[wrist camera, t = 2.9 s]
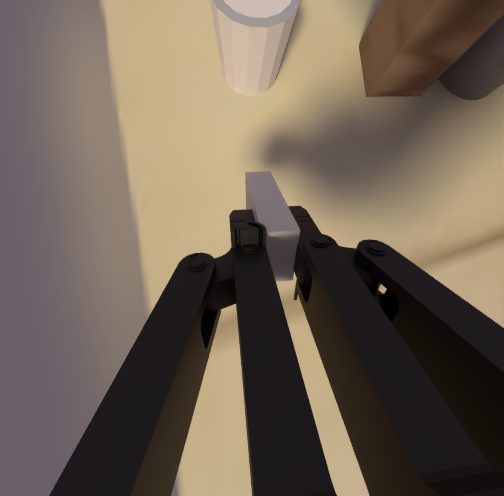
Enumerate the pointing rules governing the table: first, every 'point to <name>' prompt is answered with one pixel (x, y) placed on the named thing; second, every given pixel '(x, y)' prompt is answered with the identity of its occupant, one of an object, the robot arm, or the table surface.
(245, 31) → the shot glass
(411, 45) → the walnut block
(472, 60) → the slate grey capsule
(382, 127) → the table surface
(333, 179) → the table surface
